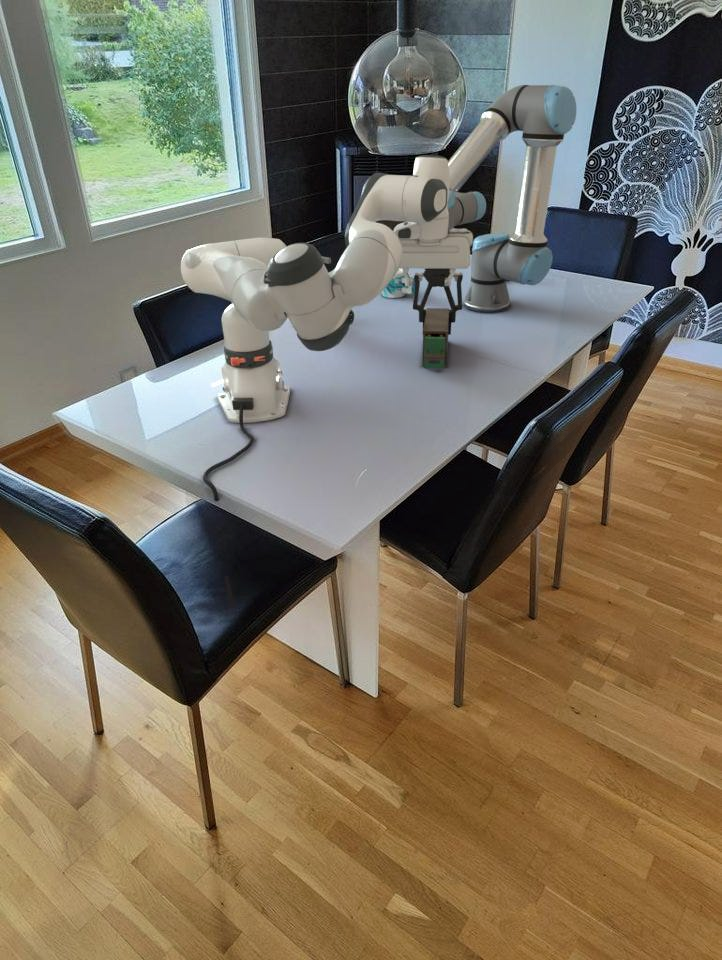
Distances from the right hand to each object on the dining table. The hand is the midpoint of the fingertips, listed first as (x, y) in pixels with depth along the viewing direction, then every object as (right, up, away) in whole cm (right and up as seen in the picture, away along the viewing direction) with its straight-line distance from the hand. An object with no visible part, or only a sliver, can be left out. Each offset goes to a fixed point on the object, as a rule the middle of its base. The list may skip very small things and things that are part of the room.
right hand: (436, 332), depth 195 cm
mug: (-9, +23, +45) cm, 51 cm away
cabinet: (0, -7, -2) cm, 7 cm away
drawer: (-1, -9, -7) cm, 12 cm away
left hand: (-5, +6, -26) cm, 27 cm away
